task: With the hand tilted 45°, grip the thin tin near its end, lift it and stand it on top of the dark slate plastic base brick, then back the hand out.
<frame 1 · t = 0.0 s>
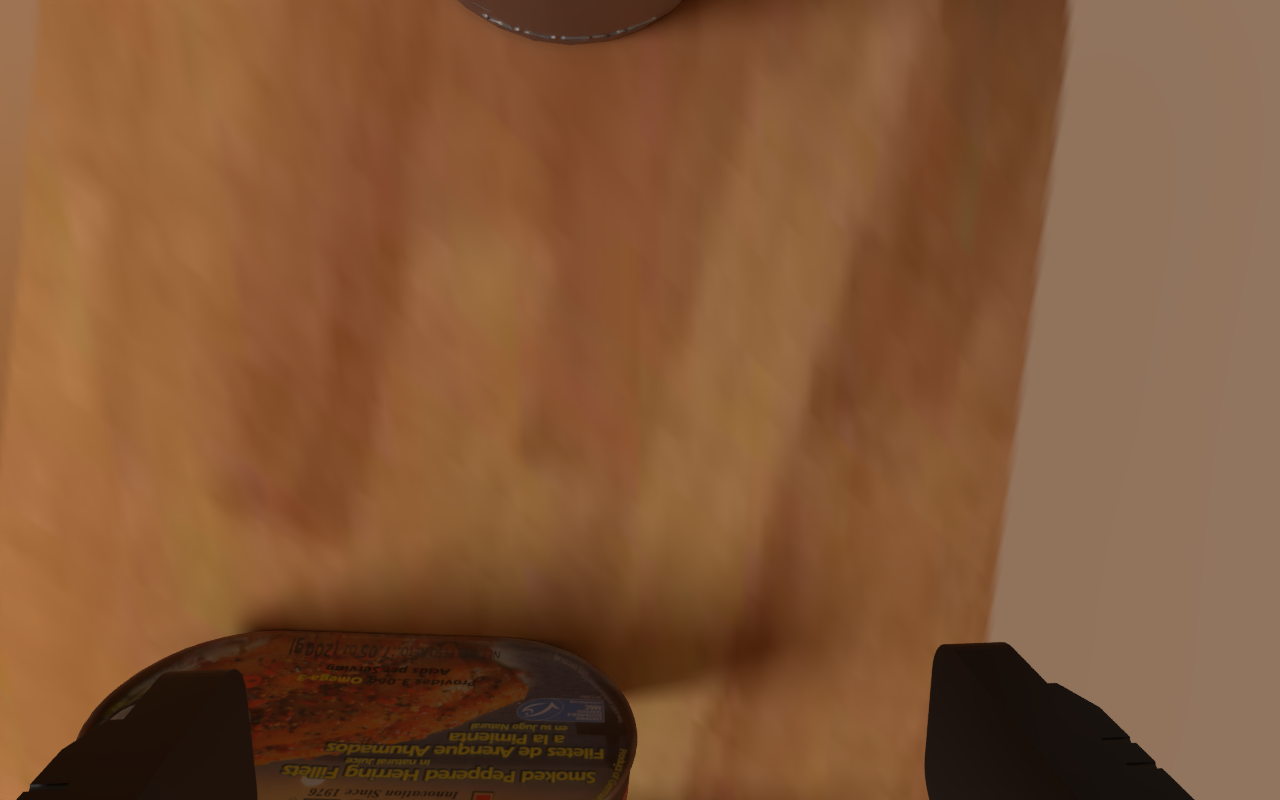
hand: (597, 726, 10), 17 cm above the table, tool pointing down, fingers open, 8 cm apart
tin: (399, 670, 30), on the table
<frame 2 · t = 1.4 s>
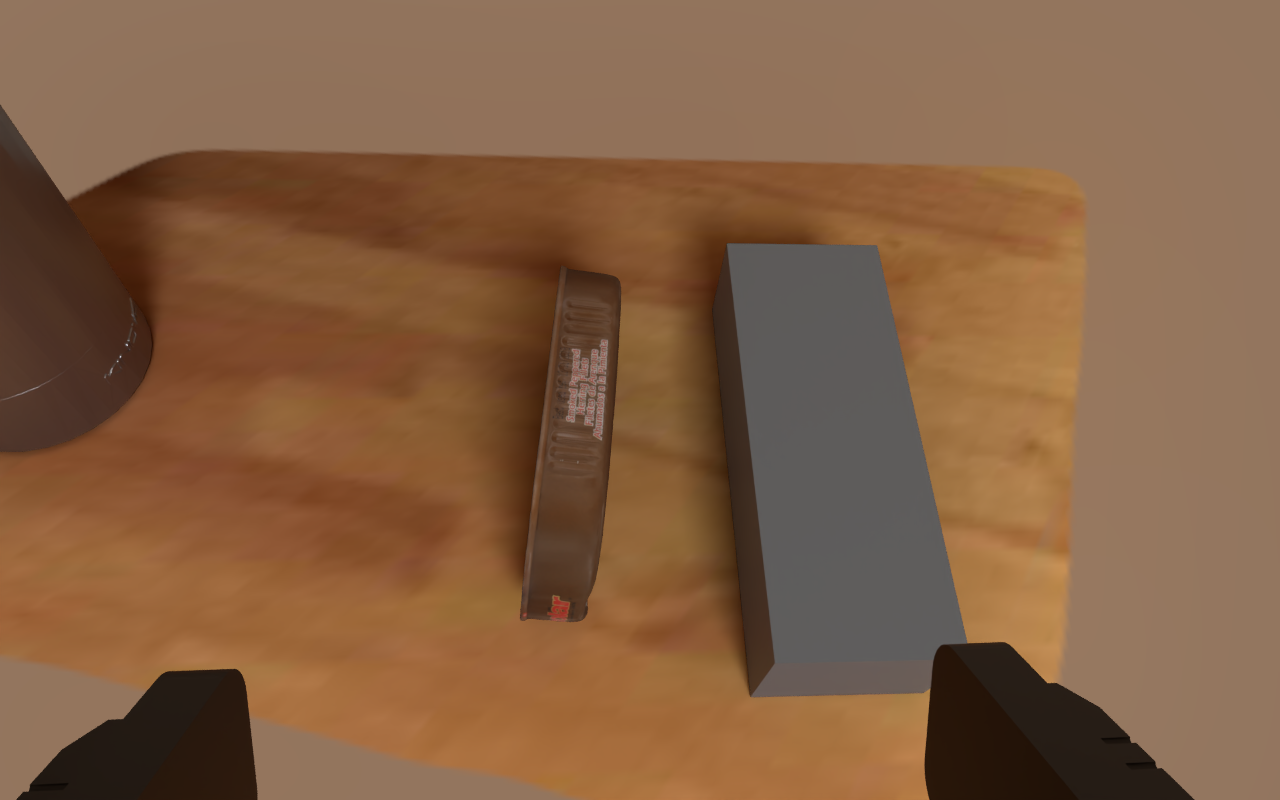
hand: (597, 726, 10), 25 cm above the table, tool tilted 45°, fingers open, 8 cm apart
tin: (572, 483, 40), on the table
base brick: (805, 479, 40), on the table
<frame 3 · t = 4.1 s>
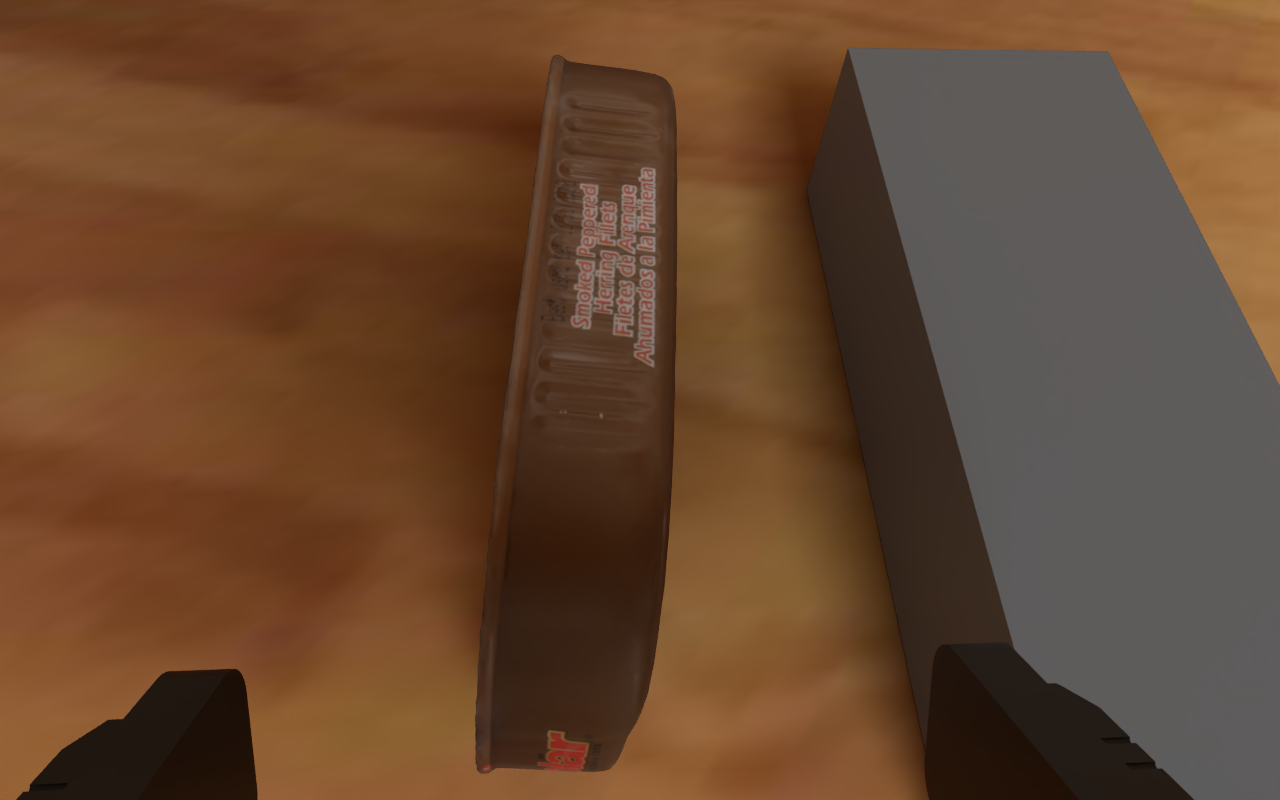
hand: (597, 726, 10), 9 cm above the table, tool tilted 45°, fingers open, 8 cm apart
tin: (583, 478, 22), on the table
base brick: (1000, 462, 23), on the table
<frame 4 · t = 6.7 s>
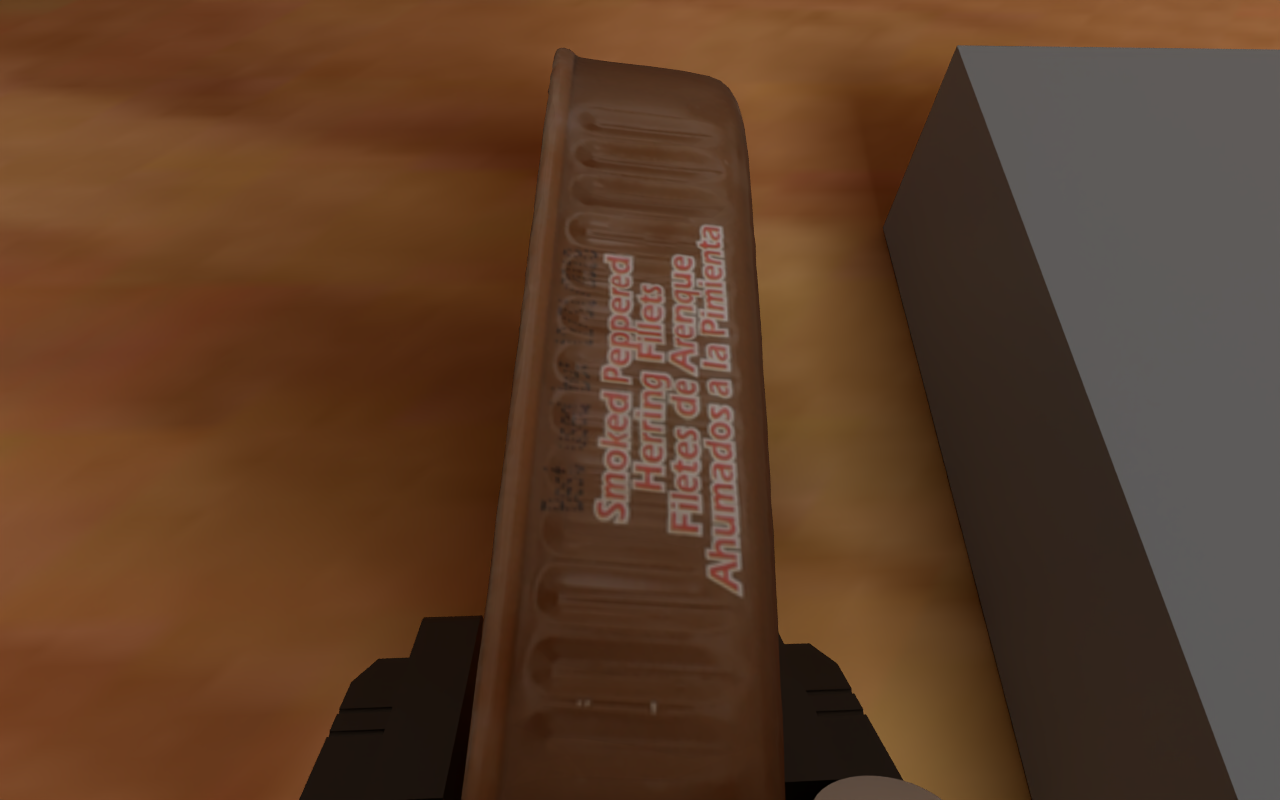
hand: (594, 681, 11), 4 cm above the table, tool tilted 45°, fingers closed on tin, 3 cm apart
tin: (600, 632, 16), on the table, touching gripper
base brick: (1168, 611, 17), on the table
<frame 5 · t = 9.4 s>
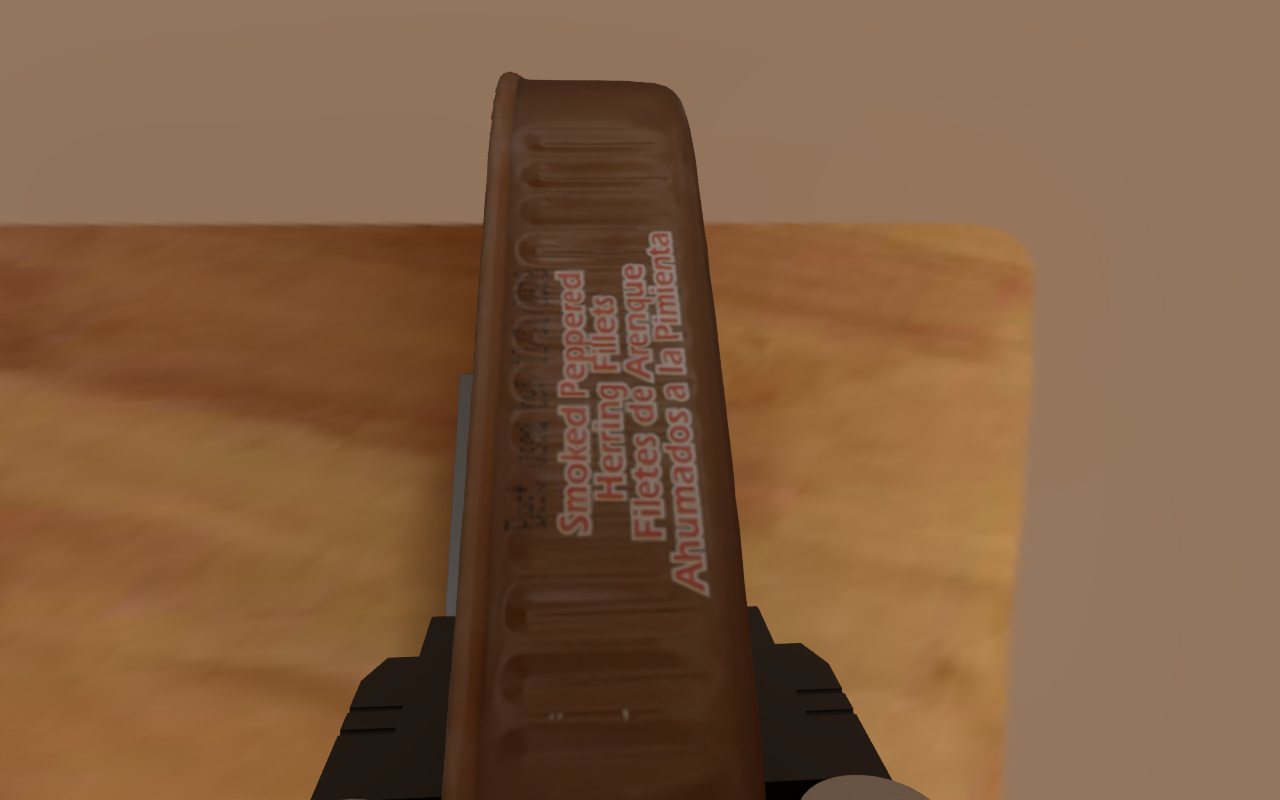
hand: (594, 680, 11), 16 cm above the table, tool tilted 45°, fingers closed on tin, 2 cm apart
tin: (614, 643, 16), point 11 cm above the table, touching gripper
base brick: (586, 743, 26), on the table
when the fingers open (10 cm above the table, at t = 11.2 s): tin drops 1 cm, resting on base brick.
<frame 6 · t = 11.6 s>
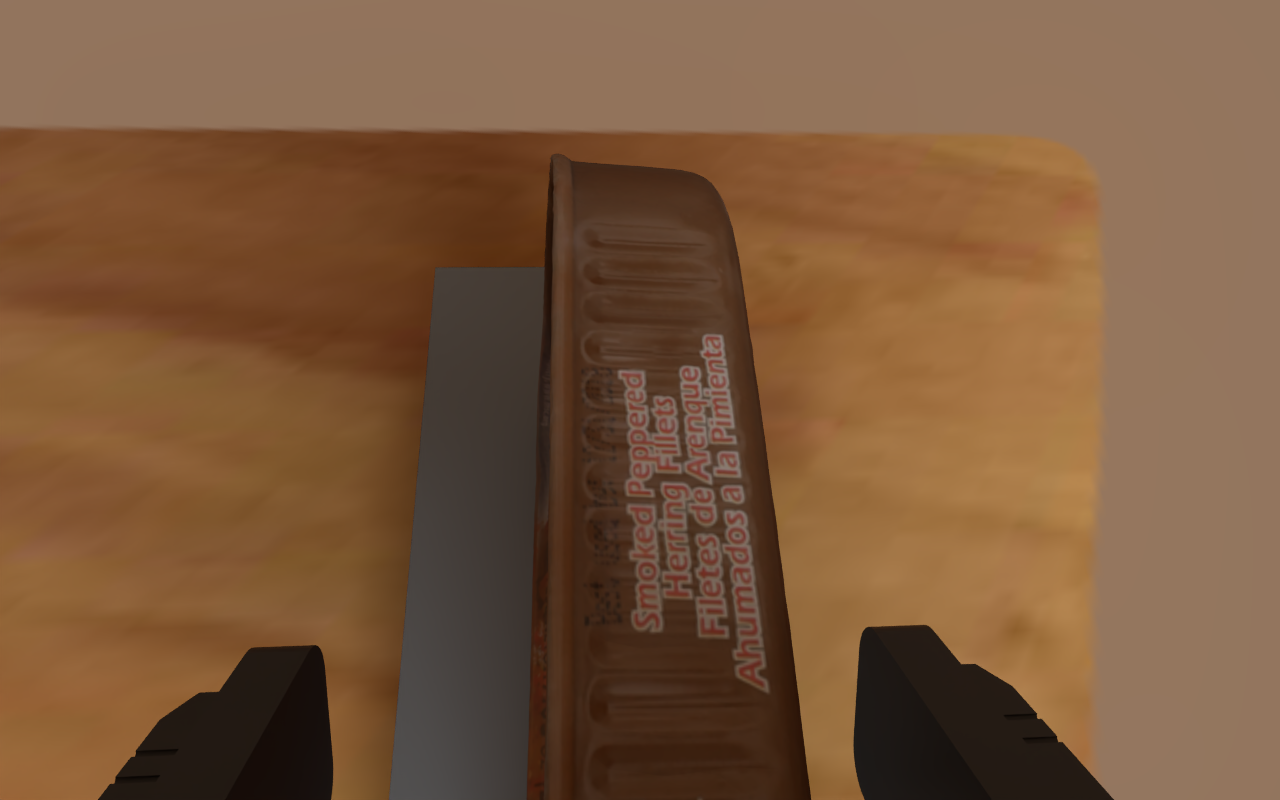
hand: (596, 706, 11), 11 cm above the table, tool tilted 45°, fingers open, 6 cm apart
tin: (614, 683, 17), point 5 cm above the table, touching base brick
base brick: (587, 713, 21), on the table
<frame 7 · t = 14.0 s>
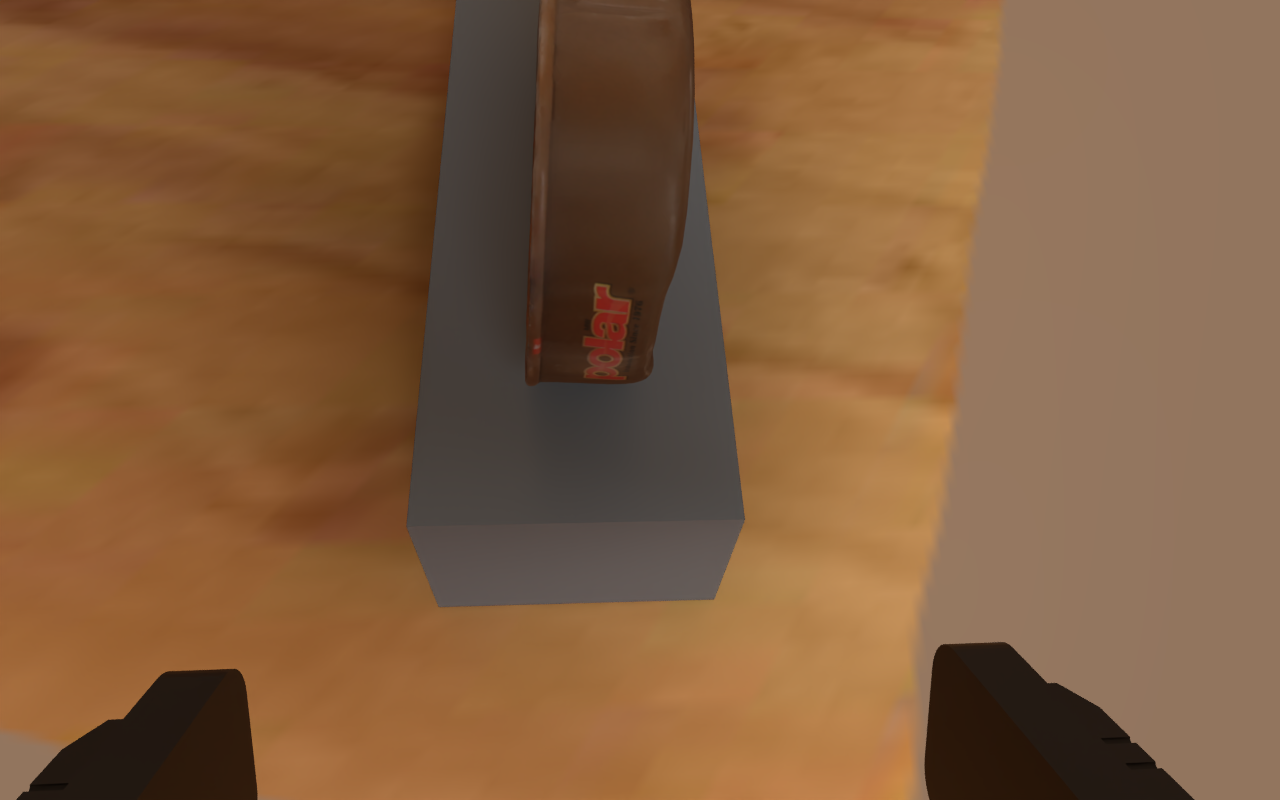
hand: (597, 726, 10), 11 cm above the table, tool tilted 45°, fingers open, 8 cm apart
tin: (591, 210, 23), point 5 cm above the table, touching base brick
base brick: (574, 306, 28), on the table
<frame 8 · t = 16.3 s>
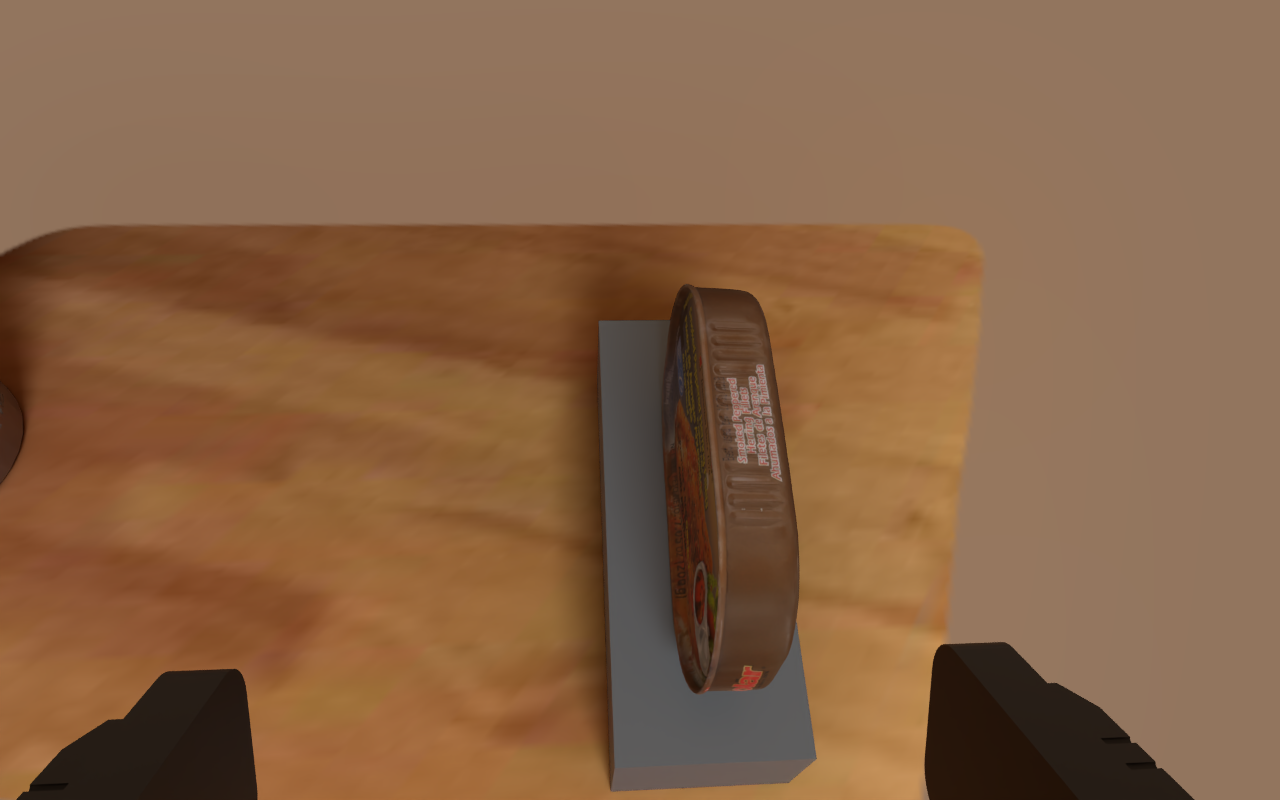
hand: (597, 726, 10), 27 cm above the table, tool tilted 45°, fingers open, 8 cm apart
tin: (705, 525, 36), point 5 cm above the table, touching base brick
base brick: (681, 558, 40), on the table
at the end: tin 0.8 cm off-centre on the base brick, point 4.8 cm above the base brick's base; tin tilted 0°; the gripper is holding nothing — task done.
